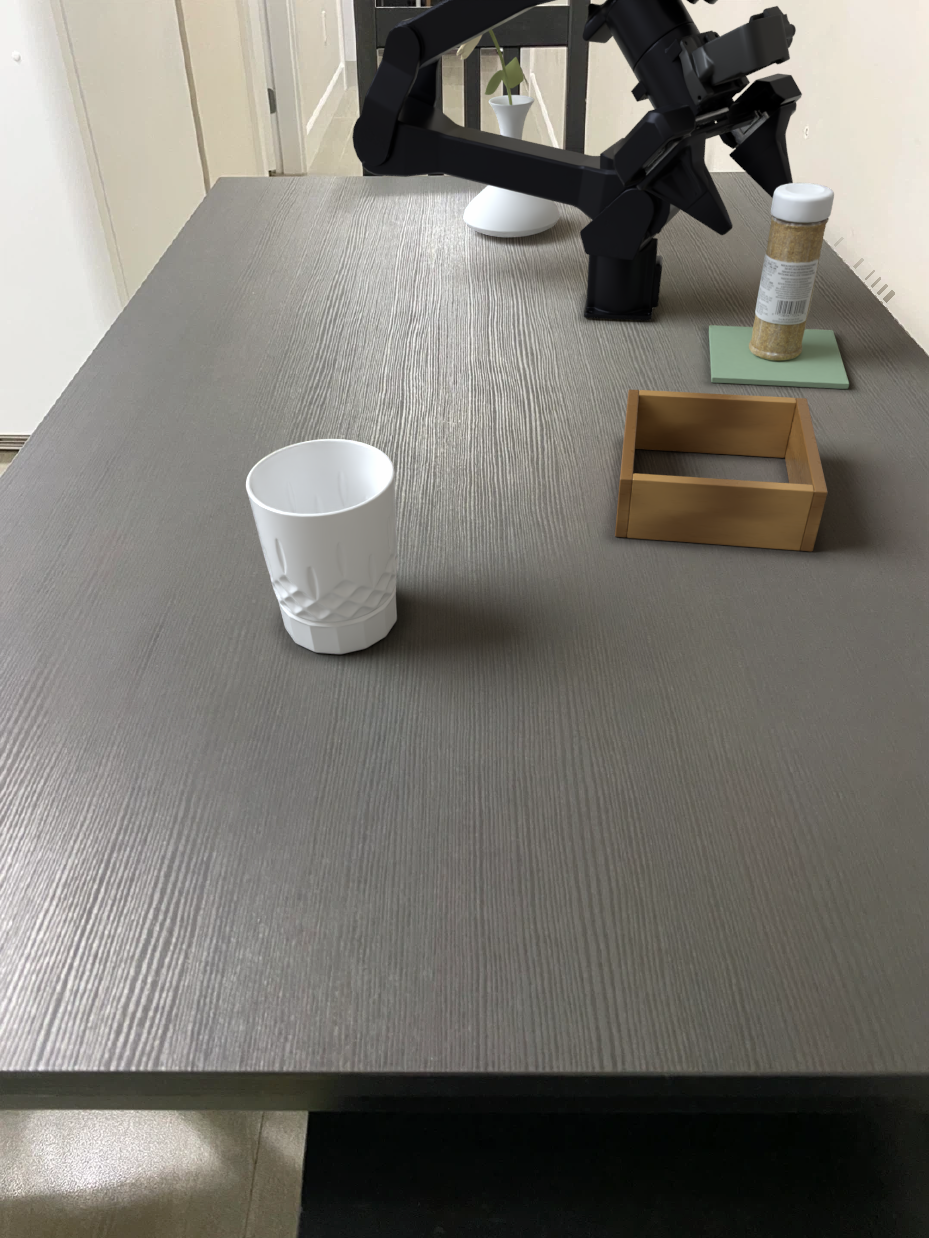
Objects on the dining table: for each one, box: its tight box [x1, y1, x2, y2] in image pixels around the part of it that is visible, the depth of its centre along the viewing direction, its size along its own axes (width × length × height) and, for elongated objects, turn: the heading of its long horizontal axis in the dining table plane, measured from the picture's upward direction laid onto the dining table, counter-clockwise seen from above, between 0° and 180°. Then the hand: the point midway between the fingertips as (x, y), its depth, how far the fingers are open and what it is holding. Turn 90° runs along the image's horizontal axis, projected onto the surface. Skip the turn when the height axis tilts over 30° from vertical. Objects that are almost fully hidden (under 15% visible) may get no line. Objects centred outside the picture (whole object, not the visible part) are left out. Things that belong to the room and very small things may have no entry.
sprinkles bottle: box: [749, 182, 835, 361], centre depth 78 cm, size 5×5×14 cm
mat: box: [708, 324, 850, 390], centre depth 82 cm, size 11×11×1 cm
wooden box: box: [614, 389, 829, 552], centre depth 64 cm, size 13×13×4 cm
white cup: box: [245, 438, 399, 655], centre depth 53 cm, size 8×8×10 cm
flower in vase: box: [456, 29, 561, 238], centre depth 102 cm, size 13×11×25 cm
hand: (760, 218), depth 77 cm, fingers open, 9 cm apart
